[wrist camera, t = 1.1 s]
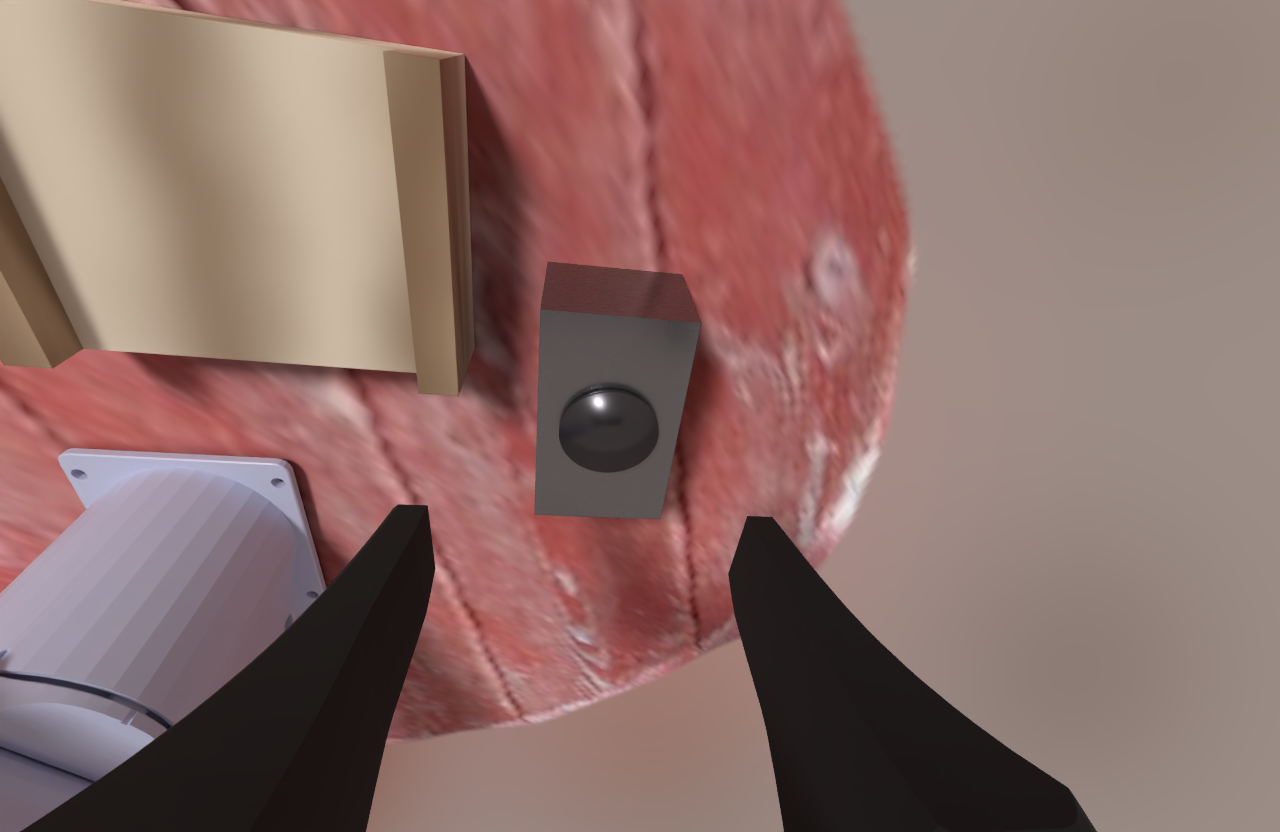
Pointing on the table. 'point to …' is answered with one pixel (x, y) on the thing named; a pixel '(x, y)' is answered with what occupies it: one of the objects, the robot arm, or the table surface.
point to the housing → (610, 389)
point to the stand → (231, 192)
